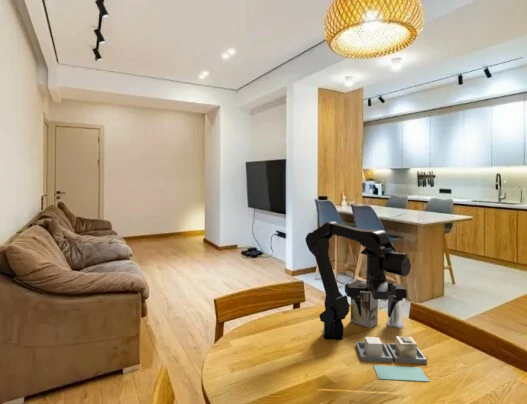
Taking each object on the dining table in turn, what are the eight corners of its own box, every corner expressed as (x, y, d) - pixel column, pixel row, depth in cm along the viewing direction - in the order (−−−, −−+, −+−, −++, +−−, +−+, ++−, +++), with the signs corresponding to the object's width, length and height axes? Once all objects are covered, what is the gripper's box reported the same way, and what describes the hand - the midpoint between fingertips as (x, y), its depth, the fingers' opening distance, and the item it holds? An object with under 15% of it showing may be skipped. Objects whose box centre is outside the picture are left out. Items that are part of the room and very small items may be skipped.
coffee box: (378, 324, 135) (379, 284, 134) (369, 328, 131) (371, 288, 130) (358, 317, 142) (358, 279, 141) (349, 321, 138) (350, 282, 137)
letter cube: (400, 358, 109) (400, 343, 108) (395, 350, 114) (396, 335, 113) (416, 359, 108) (417, 343, 108) (410, 351, 113) (411, 336, 113)
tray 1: (361, 361, 108) (361, 356, 107) (355, 346, 117) (355, 341, 117) (392, 363, 107) (392, 357, 107) (384, 348, 116) (384, 343, 116)
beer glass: (406, 329, 131) (407, 291, 130) (387, 327, 132) (388, 290, 131) (402, 322, 137) (403, 285, 136) (384, 320, 139) (385, 284, 138)
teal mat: (379, 380, 98) (379, 378, 98) (373, 367, 105) (373, 365, 105) (429, 383, 97) (429, 381, 97) (420, 369, 104) (420, 367, 103)
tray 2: (395, 363, 107) (395, 357, 107) (386, 348, 116) (386, 343, 116) (426, 364, 106) (427, 359, 106) (415, 349, 116) (415, 344, 115)
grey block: (367, 356, 110) (368, 343, 110) (364, 349, 114) (365, 336, 114) (382, 357, 109) (382, 344, 109) (378, 350, 114) (378, 337, 114)
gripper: (350, 275, 103) (349, 326, 104) (414, 277, 101) (412, 328, 102) (344, 266, 114) (344, 311, 115) (402, 267, 112) (400, 313, 113)
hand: (374, 316), depth 111 cm, fingers open, 9 cm apart
